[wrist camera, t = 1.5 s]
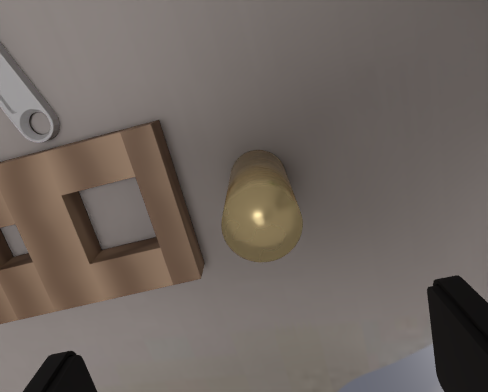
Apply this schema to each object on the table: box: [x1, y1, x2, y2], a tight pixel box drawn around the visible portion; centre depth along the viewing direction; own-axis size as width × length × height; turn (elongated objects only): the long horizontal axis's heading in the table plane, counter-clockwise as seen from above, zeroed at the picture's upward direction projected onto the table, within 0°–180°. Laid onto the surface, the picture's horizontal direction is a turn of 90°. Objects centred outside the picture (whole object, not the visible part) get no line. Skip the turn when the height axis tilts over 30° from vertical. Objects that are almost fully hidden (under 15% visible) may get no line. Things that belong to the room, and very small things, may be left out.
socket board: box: [0, 120, 205, 324], centre depth 30 cm, size 18×12×2 cm, turn 105°
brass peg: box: [222, 150, 303, 262], centre depth 25 cm, size 4×4×10 cm
